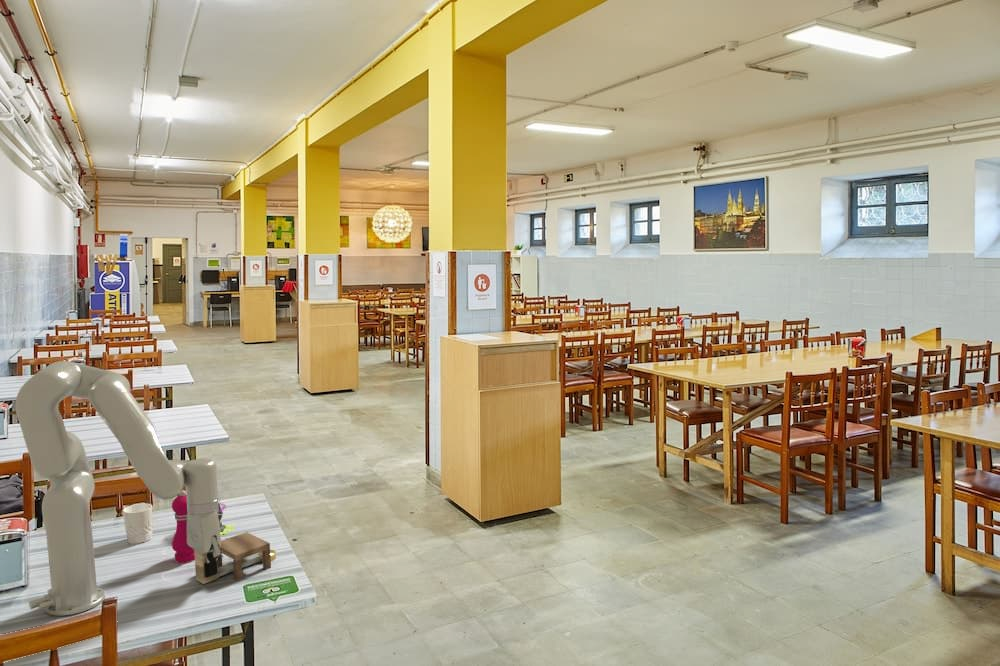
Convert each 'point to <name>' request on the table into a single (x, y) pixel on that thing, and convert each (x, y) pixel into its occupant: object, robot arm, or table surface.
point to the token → (272, 555)
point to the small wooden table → (244, 551)
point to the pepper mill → (181, 530)
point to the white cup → (138, 522)
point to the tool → (220, 570)
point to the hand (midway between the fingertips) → (206, 572)
